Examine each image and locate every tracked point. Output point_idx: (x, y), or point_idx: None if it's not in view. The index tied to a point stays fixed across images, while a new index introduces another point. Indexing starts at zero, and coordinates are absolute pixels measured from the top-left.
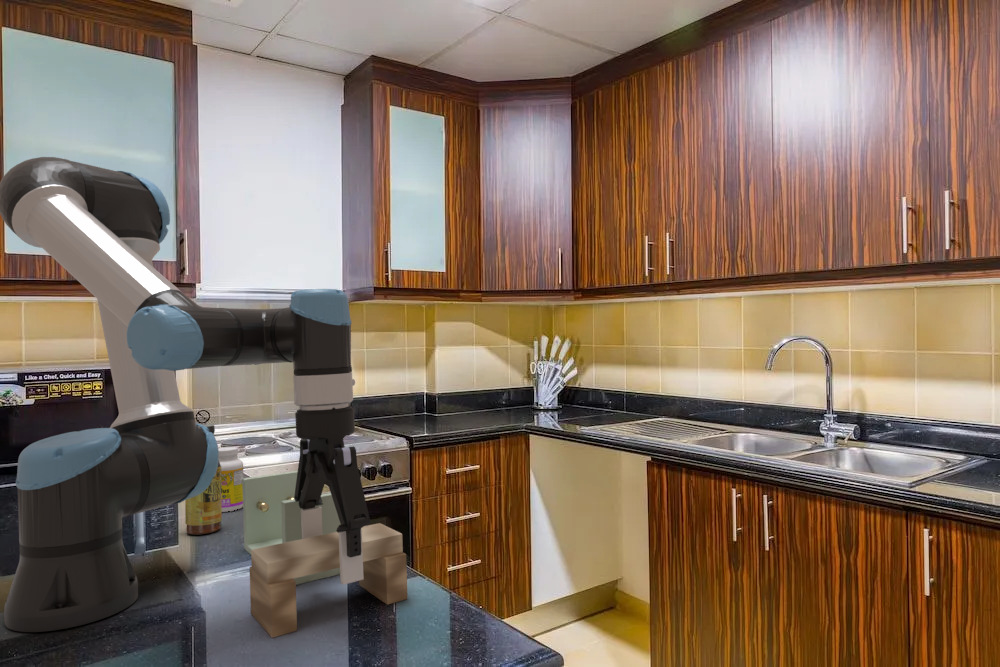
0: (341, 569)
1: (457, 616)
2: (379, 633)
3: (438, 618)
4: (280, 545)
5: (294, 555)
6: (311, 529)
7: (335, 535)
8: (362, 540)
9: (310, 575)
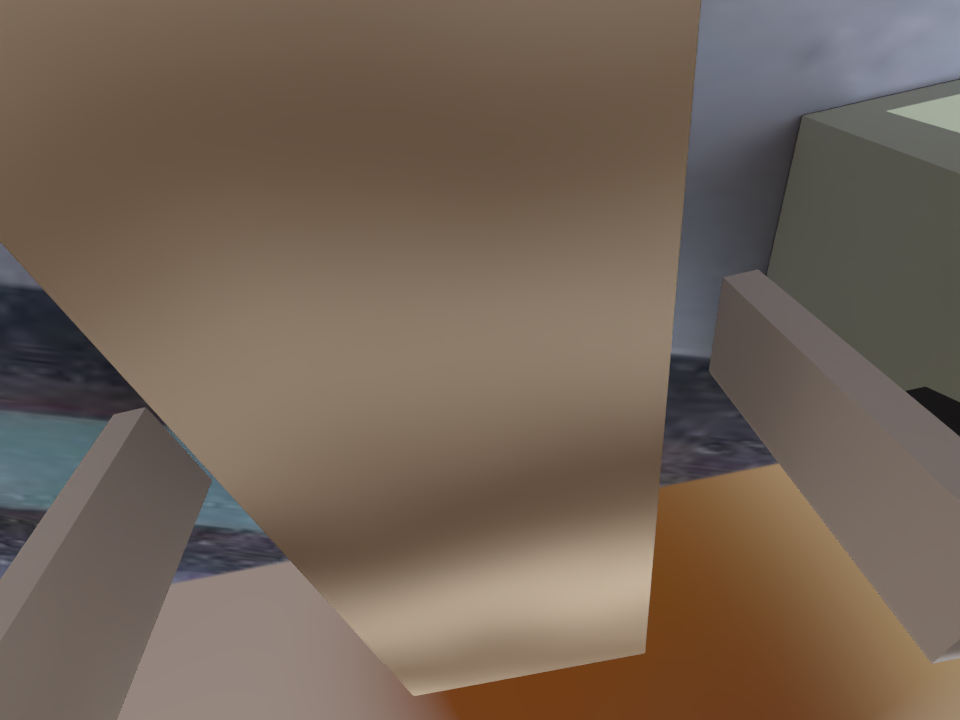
0: (84, 476)
1: (223, 538)
2: (127, 383)
3: (220, 509)
4: (604, 154)
5: (123, 273)
6: (829, 443)
7: (580, 535)
8: (387, 617)
9: (792, 242)
